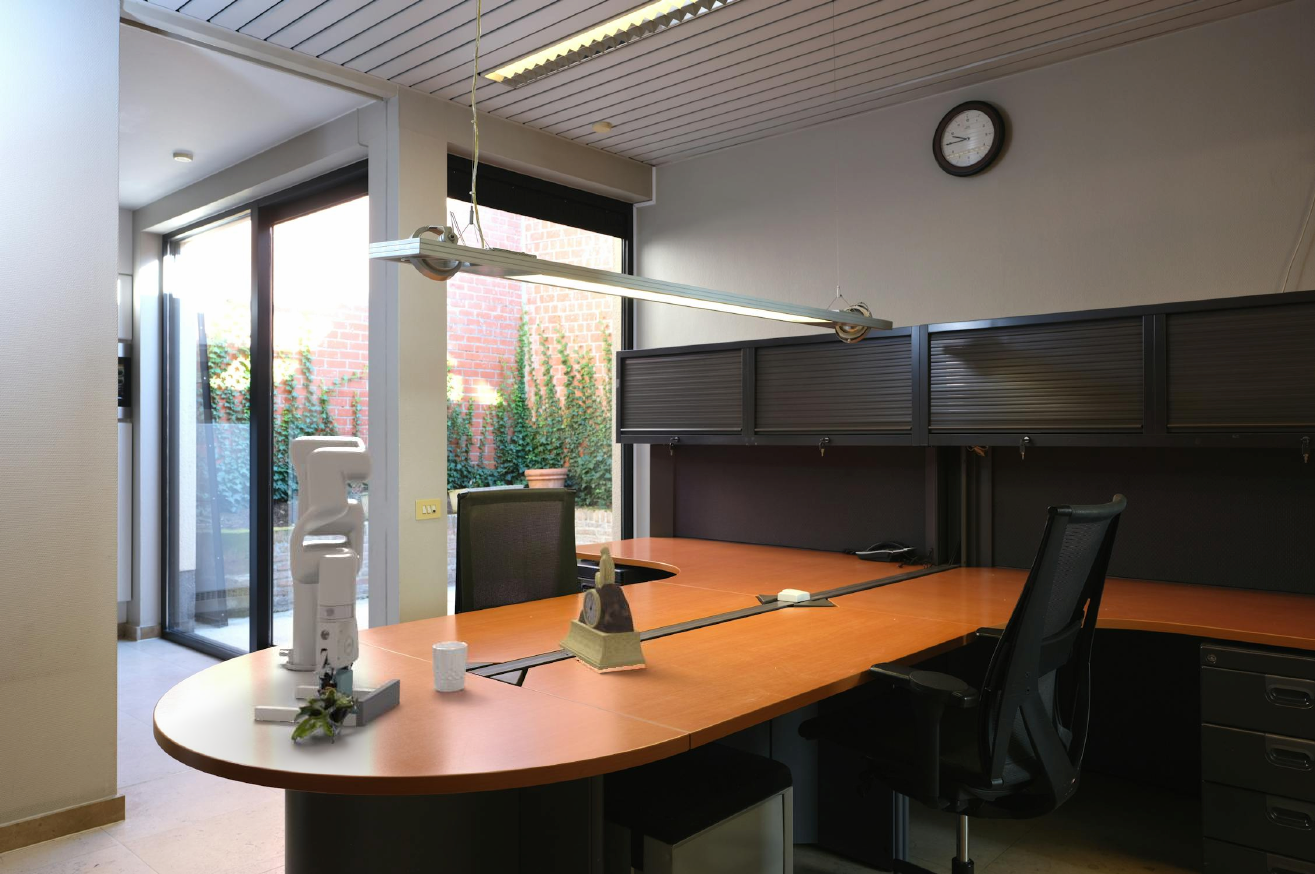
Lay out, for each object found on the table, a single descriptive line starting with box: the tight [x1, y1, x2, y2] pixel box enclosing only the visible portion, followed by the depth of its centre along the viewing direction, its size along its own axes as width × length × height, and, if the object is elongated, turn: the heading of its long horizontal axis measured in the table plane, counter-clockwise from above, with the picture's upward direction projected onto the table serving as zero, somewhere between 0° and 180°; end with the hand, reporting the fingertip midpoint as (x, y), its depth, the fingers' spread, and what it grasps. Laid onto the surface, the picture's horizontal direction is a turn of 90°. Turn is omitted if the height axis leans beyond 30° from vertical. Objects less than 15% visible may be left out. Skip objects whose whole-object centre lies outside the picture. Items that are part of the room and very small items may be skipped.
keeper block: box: [318, 669, 354, 697], centre depth 186 cm, size 5×5×6 cm
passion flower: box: [290, 687, 359, 744], centre depth 169 cm, size 11×11×12 cm
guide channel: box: [254, 678, 401, 727], centre depth 187 cm, size 24×17×5 cm
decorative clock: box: [558, 545, 646, 670], centre depth 235 cm, size 28×13×30 cm, turn 27°
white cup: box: [431, 641, 468, 693], centre depth 205 cm, size 8×8×10 cm
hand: (335, 697), depth 186 cm, fingers closed on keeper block, 5 cm apart
